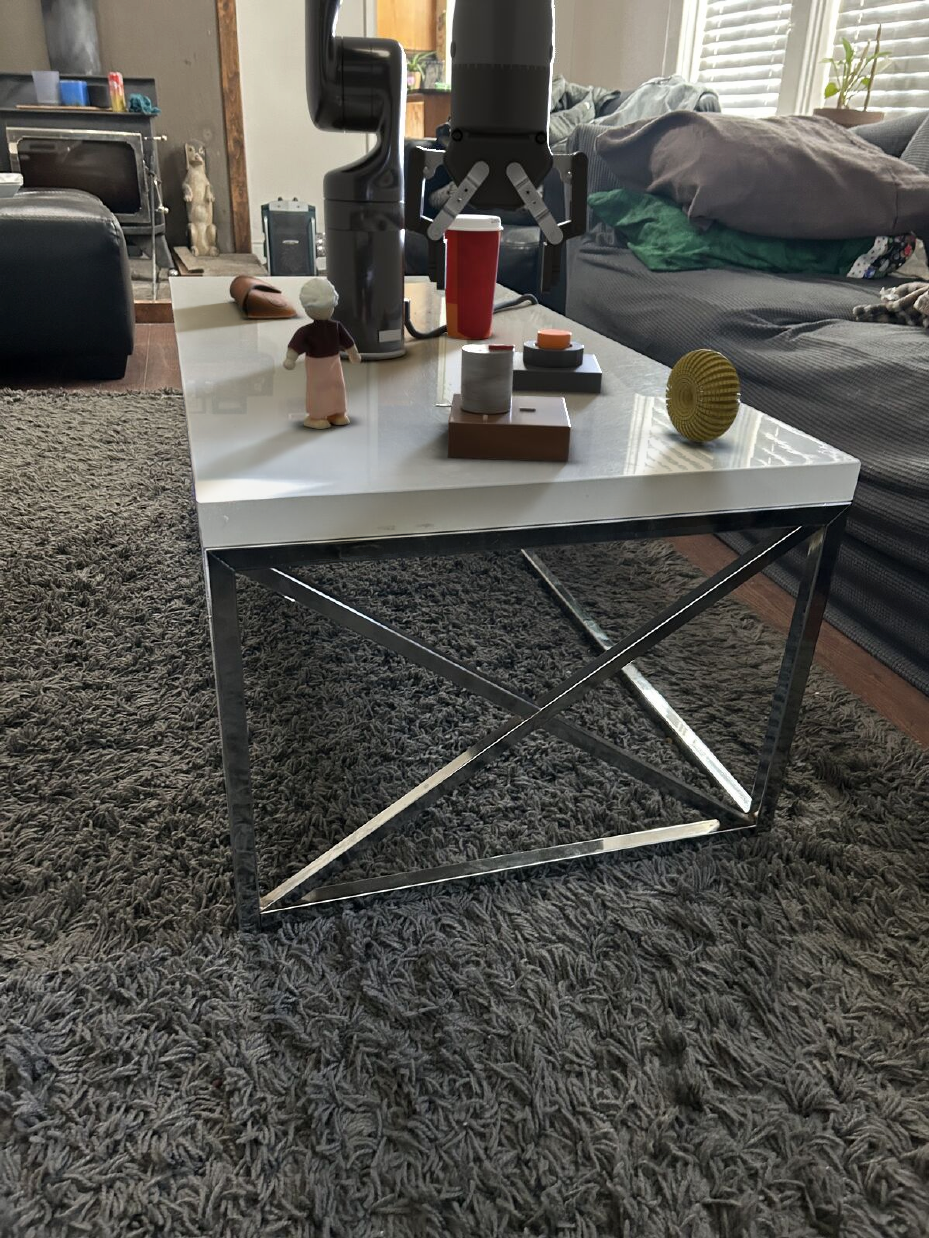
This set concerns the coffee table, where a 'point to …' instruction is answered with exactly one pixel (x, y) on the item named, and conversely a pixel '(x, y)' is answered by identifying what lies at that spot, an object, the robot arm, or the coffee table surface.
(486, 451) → the panel
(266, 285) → the sunglasses case
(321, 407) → the grandmother figurine
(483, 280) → the coffee cup
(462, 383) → the lock knob
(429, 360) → the coffee table surface
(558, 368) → the button box
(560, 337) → the button
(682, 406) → the sculpture
